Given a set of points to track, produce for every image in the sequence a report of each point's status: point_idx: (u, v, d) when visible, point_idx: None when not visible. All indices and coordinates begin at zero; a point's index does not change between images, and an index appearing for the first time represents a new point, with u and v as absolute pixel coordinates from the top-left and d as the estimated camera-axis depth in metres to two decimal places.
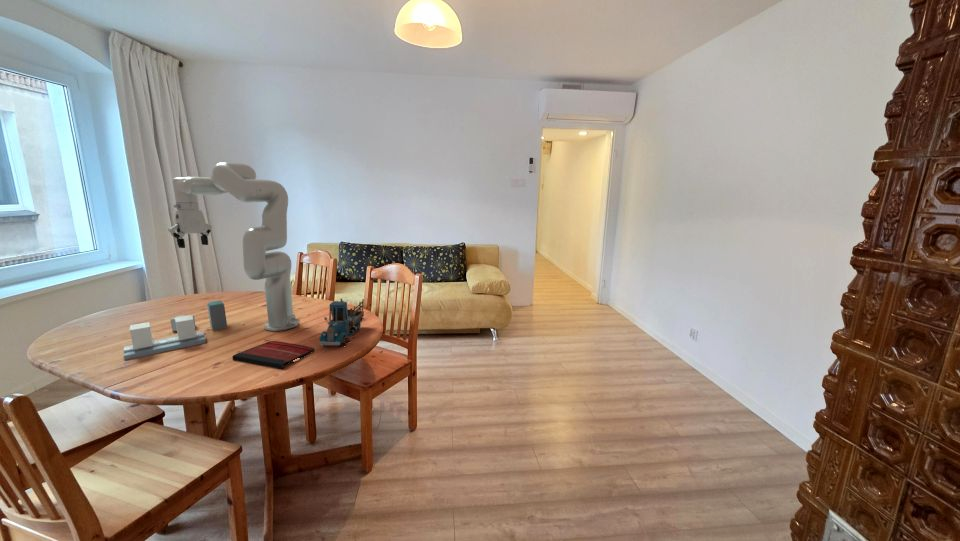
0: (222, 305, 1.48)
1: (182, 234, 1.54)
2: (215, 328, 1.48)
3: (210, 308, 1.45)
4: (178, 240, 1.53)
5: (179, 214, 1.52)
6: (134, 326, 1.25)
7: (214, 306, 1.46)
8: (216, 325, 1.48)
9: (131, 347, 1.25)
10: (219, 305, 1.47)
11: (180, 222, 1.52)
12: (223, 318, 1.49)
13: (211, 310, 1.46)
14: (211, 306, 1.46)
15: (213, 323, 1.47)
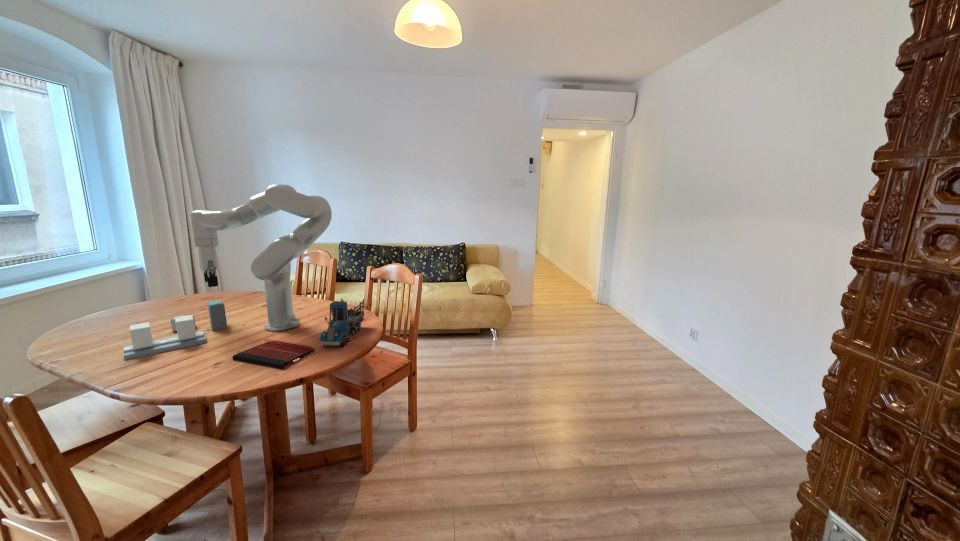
0: (222, 305, 1.48)
1: None
2: (215, 328, 1.48)
3: (210, 308, 1.45)
4: None
5: None
6: (134, 326, 1.25)
7: (214, 306, 1.46)
8: (216, 325, 1.48)
9: (131, 347, 1.25)
10: (219, 305, 1.47)
11: None
12: (223, 318, 1.49)
13: (211, 310, 1.46)
14: (211, 306, 1.46)
15: (213, 323, 1.47)
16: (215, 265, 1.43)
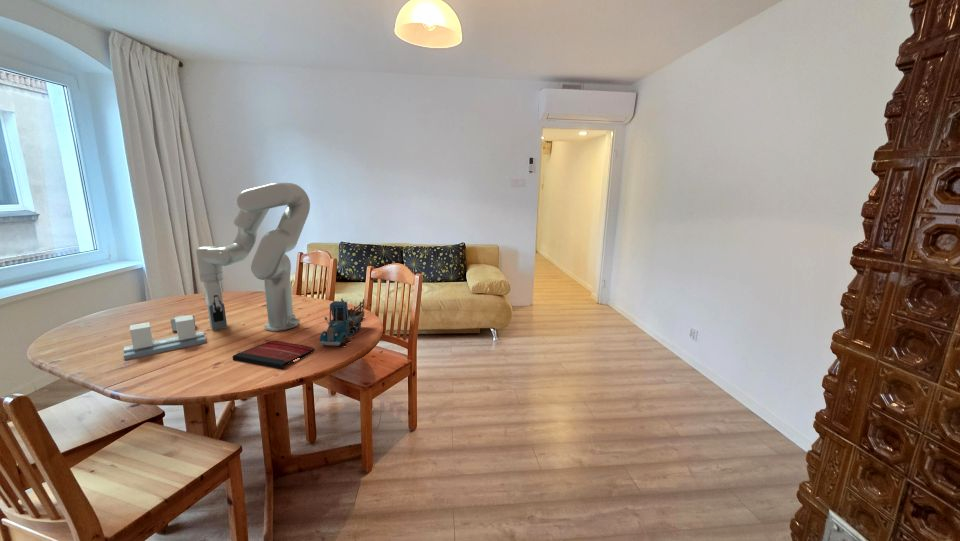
0: (222, 305, 1.48)
1: None
2: (215, 328, 1.48)
3: (210, 308, 1.45)
4: None
5: None
6: (134, 326, 1.25)
7: None
8: (216, 325, 1.48)
9: (131, 347, 1.25)
10: None
11: None
12: None
13: (211, 310, 1.46)
14: (211, 306, 1.46)
15: (213, 323, 1.47)
16: (220, 299, 1.46)
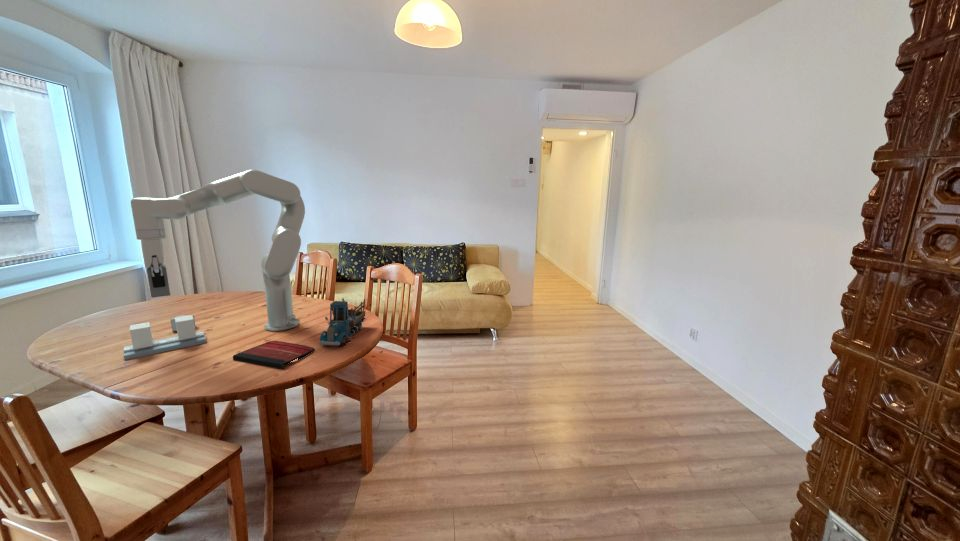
0: (163, 268, 1.26)
1: None
2: (155, 295, 1.25)
3: (148, 271, 1.23)
4: None
5: None
6: (134, 326, 1.25)
7: (153, 269, 1.24)
8: (156, 292, 1.26)
9: (131, 347, 1.25)
10: None
11: None
12: (165, 284, 1.27)
13: (149, 273, 1.23)
14: (149, 269, 1.23)
15: (152, 289, 1.25)
16: (161, 261, 1.23)
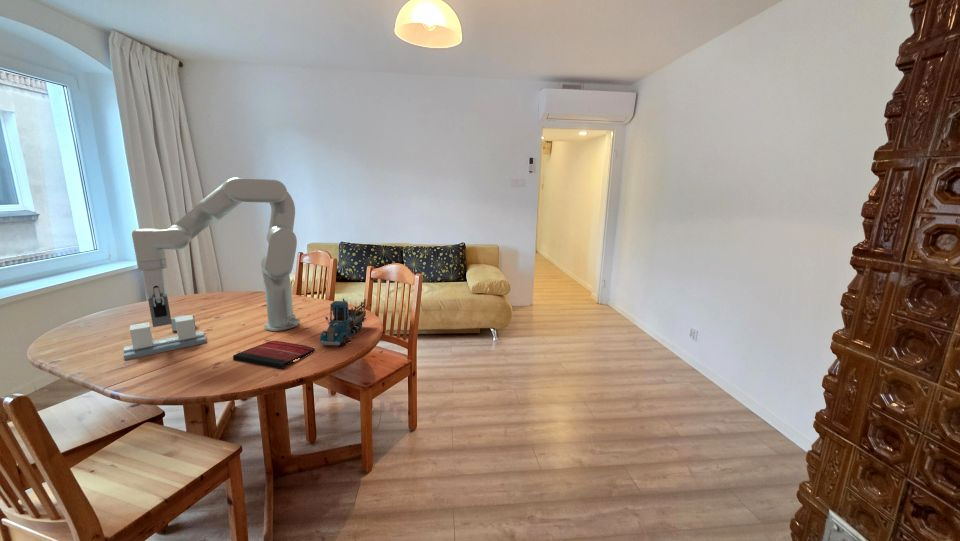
0: (165, 298, 1.27)
1: None
2: (156, 325, 1.26)
3: (149, 301, 1.24)
4: None
5: None
6: (134, 326, 1.25)
7: (155, 299, 1.25)
8: (158, 321, 1.27)
9: (131, 347, 1.25)
10: None
11: None
12: (167, 313, 1.28)
13: (151, 303, 1.24)
14: (151, 299, 1.24)
15: (154, 319, 1.26)
16: (162, 291, 1.25)
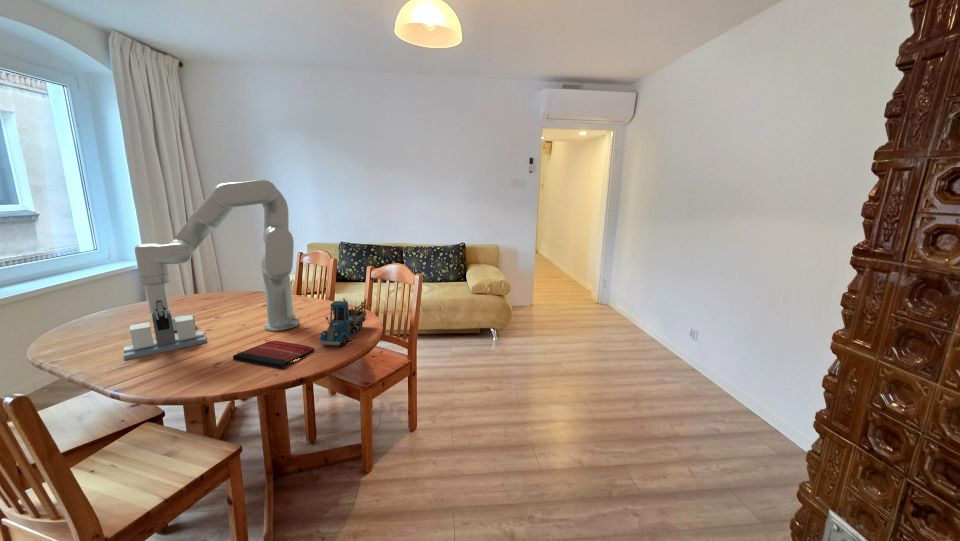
0: (168, 316, 1.28)
1: None
2: (160, 342, 1.28)
3: (153, 319, 1.26)
4: None
5: None
6: (134, 326, 1.25)
7: (158, 317, 1.27)
8: (162, 339, 1.28)
9: (131, 347, 1.25)
10: None
11: None
12: (171, 330, 1.29)
13: (155, 321, 1.26)
14: (155, 317, 1.26)
15: (158, 336, 1.27)
16: (165, 305, 1.26)
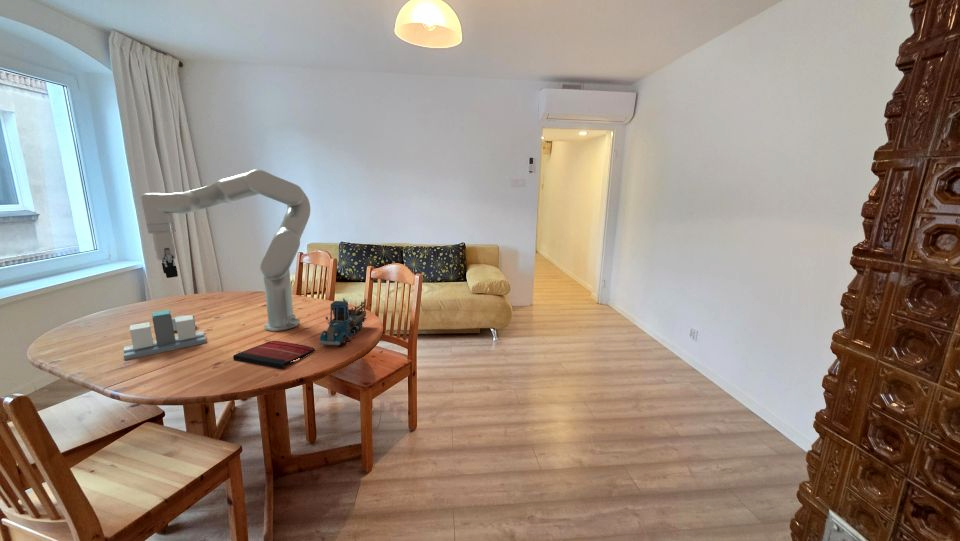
0: (168, 316, 1.28)
1: None
2: (160, 342, 1.28)
3: (153, 319, 1.26)
4: None
5: None
6: (134, 326, 1.25)
7: (158, 317, 1.27)
8: (162, 339, 1.28)
9: (131, 347, 1.25)
10: (165, 316, 1.28)
11: None
12: (171, 330, 1.29)
13: (155, 321, 1.26)
14: (155, 317, 1.26)
15: (158, 336, 1.27)
16: (173, 253, 1.29)
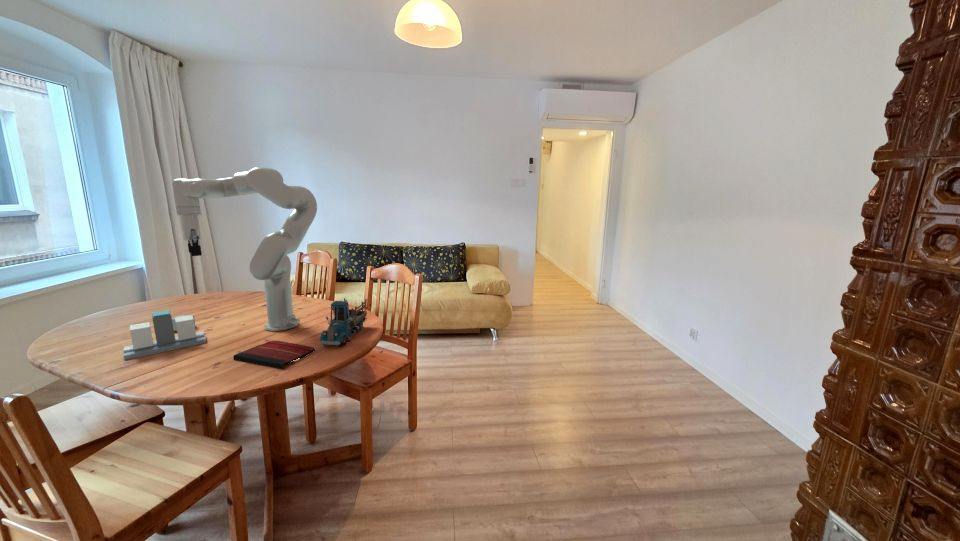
0: (168, 316, 1.28)
1: (187, 238, 1.47)
2: (160, 342, 1.28)
3: (153, 319, 1.26)
4: None
5: None
6: (134, 326, 1.25)
7: (158, 317, 1.27)
8: (162, 339, 1.28)
9: (131, 347, 1.25)
10: (165, 316, 1.28)
11: None
12: (171, 330, 1.29)
13: (155, 321, 1.26)
14: (155, 317, 1.26)
15: (158, 336, 1.27)
16: (198, 234, 1.42)
